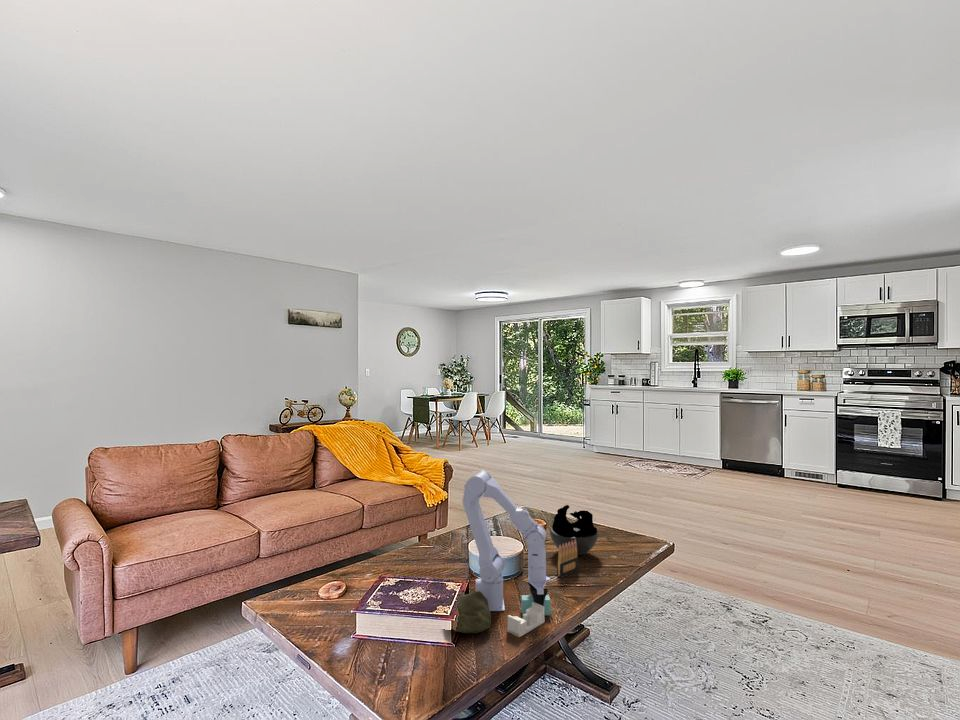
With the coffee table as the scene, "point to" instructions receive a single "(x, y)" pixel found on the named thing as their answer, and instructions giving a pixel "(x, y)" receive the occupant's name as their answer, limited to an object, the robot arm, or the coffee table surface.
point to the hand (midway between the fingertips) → (538, 607)
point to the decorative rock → (473, 613)
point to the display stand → (526, 620)
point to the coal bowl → (574, 530)
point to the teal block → (528, 599)
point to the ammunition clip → (567, 559)
